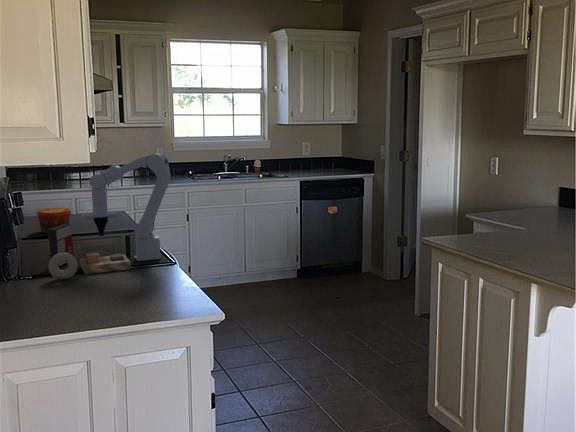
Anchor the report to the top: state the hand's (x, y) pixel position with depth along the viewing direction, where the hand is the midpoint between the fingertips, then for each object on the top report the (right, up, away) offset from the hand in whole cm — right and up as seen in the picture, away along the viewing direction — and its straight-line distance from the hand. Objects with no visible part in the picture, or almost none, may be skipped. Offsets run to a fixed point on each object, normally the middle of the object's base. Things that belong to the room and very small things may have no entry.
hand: (101, 235), depth 250 cm
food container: (-39, 0, +52) cm, 65 cm away
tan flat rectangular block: (+6, -12, -13) cm, 19 cm away
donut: (-5, -15, -29) cm, 33 cm away
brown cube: (+2, -10, -15) cm, 19 cm away
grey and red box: (-13, -11, -8) cm, 19 cm away
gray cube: (+10, -11, -11) cm, 19 cm away
